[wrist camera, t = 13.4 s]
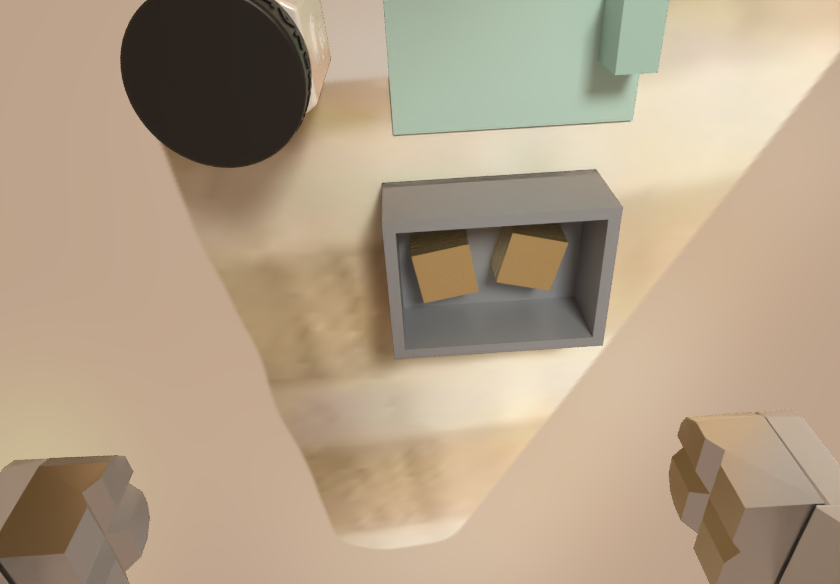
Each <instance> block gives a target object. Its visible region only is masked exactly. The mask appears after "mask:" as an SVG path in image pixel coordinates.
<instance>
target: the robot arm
mask: <svg viewBox="0 0 840 584" xmlns="http://www.w3.org/2000/svg"><path fill="white" fill-rule="evenodd" d="M678 438H679V439H680V442H681V444H682V446H683V448H682V449H681V450H679V451H678V452H677V453H676V454H675V455H674V456H672V460H671V464H670V470H669V482H670V492H671V495H672V499H673V503H674V506H675V508H676V510H677V513H678V515H679V517H680V520H681V521H682V522H684V523H685V524H686V525H687V526H689V527H690V528H691V529H693V530H694V531H695V532H697V533H698V535H697V538H696V541H695V545H694V550H695V553H696V555H697V557H698V559H699V561H700V563H701V566H702V568H703V570H704V572H705V574H706V576H707V579H708V581H709V583H710V584H840V465H839V464H838V463H837V461H836V460H835V459H834V458H833V456H832V455H831V454H830V452H829V451H828V450H827V448H826V447H825V446H824V445H823V443H822V442H821V441H820V439H819V438H818V437H817V436H816V434H815V433H814V432H813V430H812V429H811V428H810V427H809V425H808V424H807V423H806V422H805V420H804V419H803V418H802V416H801V415H800V414H798V413H796V412H795V411H793V410H778V411H764V412H755V413H752V412H747V413H735V414H722V415H708V416H696V417H686V418H685V419H684V421H683V422H682V423H681V425H680V429H679V432H678ZM132 473H133V470H132V468H131V467H130V465H129V463H128V461H127V459H126V457H125V456H117V455H114V456H92V457H91V456H90V457H65V458H49V459H31V460H14V461H13V462H11V463H10V464H8V465H7V466H5V467H4V468H3V469H2V471H1V472H0V584H129V581H128V578H127V576H126V573H125V571H126V570H127V569H129V568H130V567H131V566H132V565H133V564H134V563H135V562H136V561H137V560H138V559H139V558H140V557H141V555H142V552H143V550H144V547H145V544H146V541H147V537H148V528H149V519H150V516H149V510H148V505H147V501H146V499H145V497H144V494H143V492H142V491H140V490H139V489H137V488H136V487H134V486H132V485H131V484H129V480H130V478H131V476H132Z"/></svg>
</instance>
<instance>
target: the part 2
mask: <svg viewBox="0 0 840 584" xmlns="http://www.w3.org/2000/svg"><path fill="white" fill-rule="evenodd" d="M567 246H568V241H567V239H566V237H565V235H564V233H563V230H562V228H561V226H560V224H559V223H546V224H531V225H515V226H501V229H500V232H499V235H498V238H497V242H496V245H495V248H494V251H493V254H492V257H491V260H490V261H491V264H492V268H493V272H494V276H495V279H496V282H498V283H504V284H510V285H517V286H523V287H529V288H535V289H541V290H548V291H550V289H551V286H552V284H553V281H554V279H555V276H556V274H557V271H558V268H559V266H560V263H561V261H562V258H563V256H564V253H565V251H566V248H567Z"/></svg>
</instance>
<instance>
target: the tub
mask: <svg viewBox="0 0 840 584" xmlns="http://www.w3.org/2000/svg"><path fill="white" fill-rule="evenodd" d="M622 210H623V207H622V205H621V204H620V202H619V201H618V200H617V198H616V197H615V195H614V194H613V193H612V191H611V190H610V188H609V187H608V185H607V184H606V183H605V181H604V180H603V178H602V177H601V176H600V174H599V173H598V171H597V170H596V169H593V170H577V171H561V172H546V173H530V174H515V175H499V176H484V177H468V178H453V179H437V180H422V181H406V182H391V183H382V232H383V242H384V253H385V263H386V273H387V284H388V294H389V305H390V315H391V326H392V336H393V347H394V357H395V359H406V358H421V357H436V356H451V355H466V354H481V353H496V352H511V351H527V350H542V349H557V348H572V347H587V346H602V345H603V340H604V333H605V326H606V319H607V313H608V306H609V299H610V292H611V285H612V278H613V271H614V264H615V258H616V251H617V244H618V237H619V230H620V223H621V216H622ZM546 223H559V224H560V226H561V228H562V230H563V233H564V235H565V237H566V239H567V241H568V246H567V248H566V251H565V253H564V256H563V258H562V261H561V263H560V266H559V268H558V271H557V274H556V276H555V279H554V281H553V284H552V286H551V289H550V291H548V290H541V289H535V288H529V287H523V286H517V285H510V284H504V283H498V282H496V279H495V276H494V272H493V268H492V264H491V261H490V260H491V257H492V254H493V251H494V248H495V245H496V242H497V238H498V235H499V232H500V229H501V226H515V225H531V224H546ZM454 229H466V234H467V238H468V243H469V248H470V252H471V257H472V262H473V267H474V271H475V276H476V281H477V285H478V290H479V292H475V293H470V294H466V295H461V296H456V297H451V298H447V299H442V300H437V301H433V302H428V303H424V301H423V297H422V294H421V290H420V286H419V283H418V279H417V275H416V272H415V268H414V265H413V261H412V257H411V243H410V236H411V235H416V234H420V233H425V232H429V231H439V230H454Z"/></svg>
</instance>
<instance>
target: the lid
mask: <svg viewBox="0 0 840 584" xmlns="http://www.w3.org/2000/svg"><path fill="white" fill-rule="evenodd" d="M383 2H384V15H385V29H386V42H387V55H388V67H389V82H390V95H391V108H392V121H393V134H394V135H403V134H419V133H435V132H451V131H467V130H484V129H500V128H516V127H532V126H548V125H564V124H580V123H596V122H612V121H628V120H633V115H634V108H635V101H636V94H637V87H638V80H639V74H644V73H658V67H659V61H660V55H661V48H662V42H663V36H664V29H665V23H666V17H667V11H668V4H669V0H383Z"/></svg>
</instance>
